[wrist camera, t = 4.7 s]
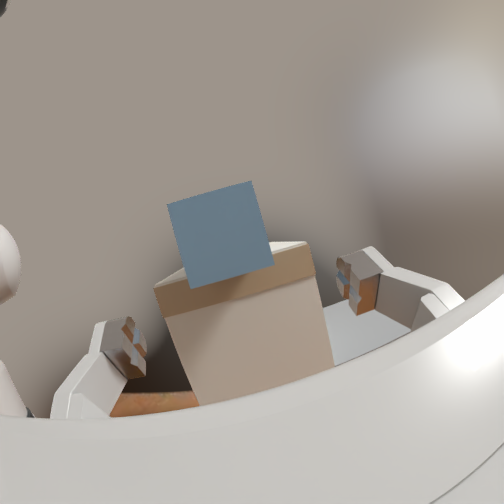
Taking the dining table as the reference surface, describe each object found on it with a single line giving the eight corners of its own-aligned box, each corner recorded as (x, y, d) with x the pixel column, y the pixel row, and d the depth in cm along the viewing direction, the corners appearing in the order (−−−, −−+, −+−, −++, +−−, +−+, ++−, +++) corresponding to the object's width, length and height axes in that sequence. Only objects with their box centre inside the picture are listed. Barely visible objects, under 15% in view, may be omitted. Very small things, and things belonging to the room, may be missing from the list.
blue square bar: (275, 264, 13) (251, 180, 12) (190, 289, 12) (166, 204, 12) (244, 251, 33) (235, 218, 32) (211, 260, 32) (202, 227, 32)
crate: (434, 420, 24) (437, 316, 23) (350, 465, 23) (334, 366, 22) (378, 374, 39) (366, 291, 39) (312, 401, 38) (292, 318, 38)
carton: (351, 466, 22) (307, 241, 21) (248, 497, 21) (152, 285, 20) (313, 401, 39) (272, 241, 37) (239, 423, 38) (183, 267, 36)
